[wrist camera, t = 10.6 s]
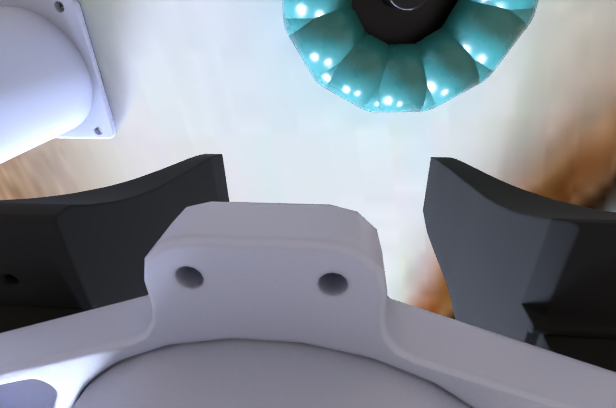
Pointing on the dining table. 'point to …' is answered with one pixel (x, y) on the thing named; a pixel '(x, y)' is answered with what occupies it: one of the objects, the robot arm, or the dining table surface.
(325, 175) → the dining table surface
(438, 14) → the hook stand
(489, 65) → the ring
